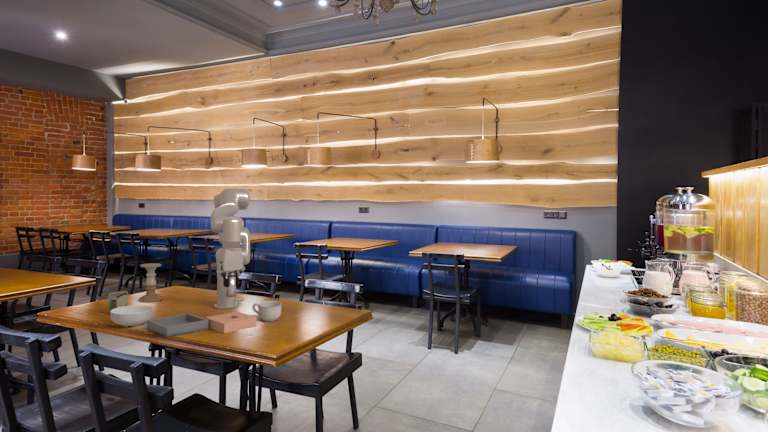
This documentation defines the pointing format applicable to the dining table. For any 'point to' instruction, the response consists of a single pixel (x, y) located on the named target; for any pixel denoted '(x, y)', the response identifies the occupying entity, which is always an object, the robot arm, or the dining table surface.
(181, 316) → the tray
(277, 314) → the teacup
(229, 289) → the pin
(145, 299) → the candle holder
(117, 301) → the food container
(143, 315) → the cereal bowl
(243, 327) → the hitch block
